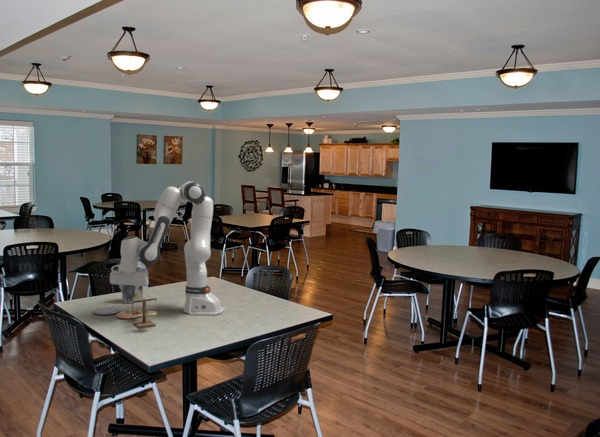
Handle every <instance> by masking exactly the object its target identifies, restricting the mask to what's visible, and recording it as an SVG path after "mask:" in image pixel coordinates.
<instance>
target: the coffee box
mask: <svg viewBox="0 0 600 437" xmlns="http://www.w3.org/2000/svg"><path fill="white" fill-rule="evenodd" d="M124 286H125V285H124ZM143 288H144V286H139V288H138V290H137V294H136V297H134V298H132V299H127V298H123V303H126V304H131V305H132V301H138V300H143V299H144V290H143Z"/></svg>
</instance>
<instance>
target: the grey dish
mask: <svg viewBox="0 0 600 437" xmlns="http://www.w3.org/2000/svg"><path fill="white" fill-rule="evenodd" d="M120 312H121V310H120V308H118V307H116V306H115V307H114V306H113V307H111V306H108V307H107V306H106V307H104V306H103V307H99V308H96V309H94V310H93V313H94V314H96V315H101V316H102V315H103V316H107V315H108V316H109V315H114V314H118V313H120Z"/></svg>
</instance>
